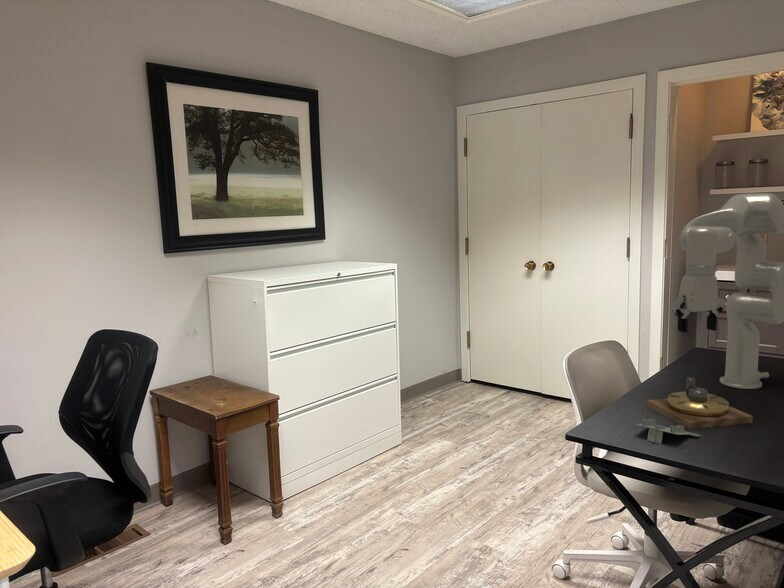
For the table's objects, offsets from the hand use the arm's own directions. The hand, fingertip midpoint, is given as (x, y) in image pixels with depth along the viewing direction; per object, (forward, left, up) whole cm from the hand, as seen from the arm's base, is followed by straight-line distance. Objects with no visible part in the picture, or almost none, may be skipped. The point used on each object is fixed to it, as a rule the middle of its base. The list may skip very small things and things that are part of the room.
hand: (696, 330), depth 173 cm
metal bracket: (+17, +11, -27) cm, 33 cm away
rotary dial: (-3, -1, -24) cm, 24 cm away
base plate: (-3, -1, -26) cm, 26 cm away
